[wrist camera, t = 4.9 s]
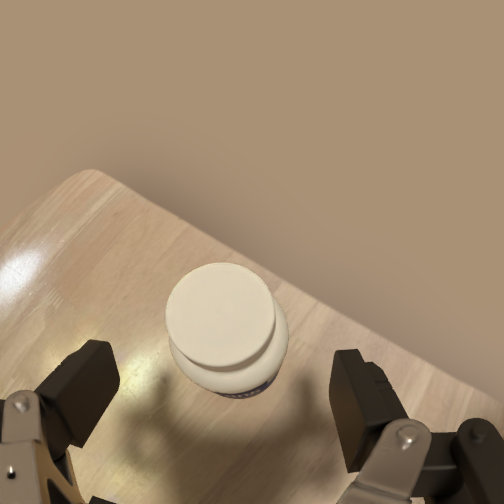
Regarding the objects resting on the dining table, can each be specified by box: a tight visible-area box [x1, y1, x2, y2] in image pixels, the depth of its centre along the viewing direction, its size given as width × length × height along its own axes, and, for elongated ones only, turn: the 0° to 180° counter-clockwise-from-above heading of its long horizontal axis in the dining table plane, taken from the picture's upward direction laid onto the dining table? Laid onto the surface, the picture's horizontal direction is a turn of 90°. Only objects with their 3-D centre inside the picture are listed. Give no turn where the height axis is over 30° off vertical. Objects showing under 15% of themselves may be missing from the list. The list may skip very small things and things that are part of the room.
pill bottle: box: [165, 262, 289, 399], centre depth 14 cm, size 5×5×10 cm
